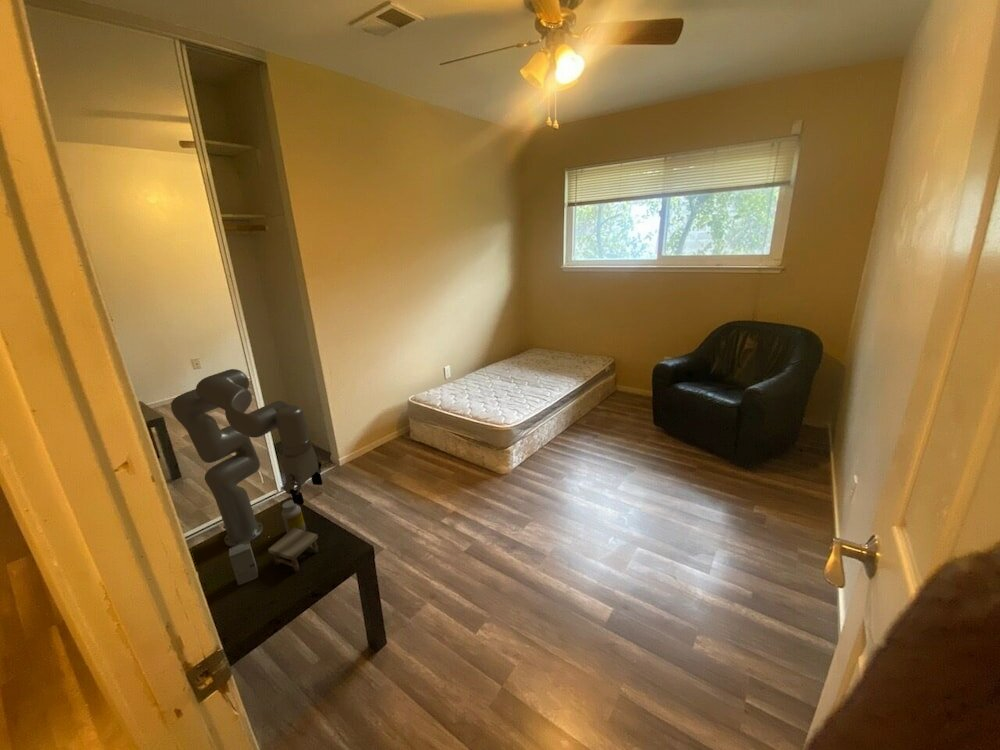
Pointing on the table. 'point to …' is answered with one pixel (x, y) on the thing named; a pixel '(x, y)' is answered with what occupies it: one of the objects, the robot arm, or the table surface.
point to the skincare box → (243, 563)
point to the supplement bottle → (292, 516)
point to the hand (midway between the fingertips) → (308, 493)
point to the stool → (293, 547)
